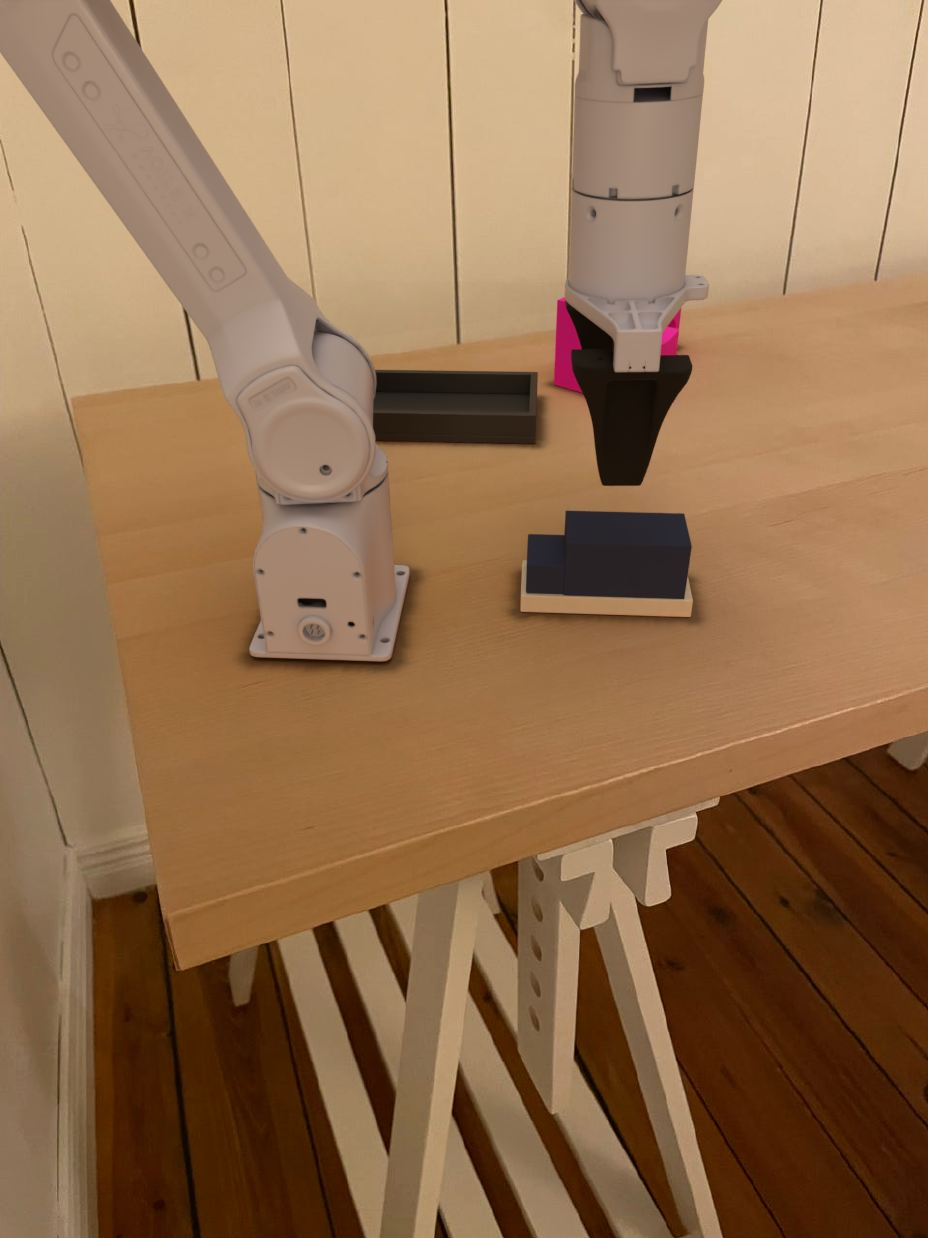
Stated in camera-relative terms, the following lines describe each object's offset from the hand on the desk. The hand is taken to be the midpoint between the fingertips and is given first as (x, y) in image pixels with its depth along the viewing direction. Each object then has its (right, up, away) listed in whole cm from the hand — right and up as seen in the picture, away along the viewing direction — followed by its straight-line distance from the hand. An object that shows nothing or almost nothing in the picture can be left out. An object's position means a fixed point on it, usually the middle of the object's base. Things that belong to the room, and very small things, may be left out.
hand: (615, 450), depth 54 cm
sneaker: (0, -8, +5) cm, 10 cm away
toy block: (+7, +14, +36) cm, 39 cm away
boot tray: (-10, +7, +27) cm, 30 cm away
